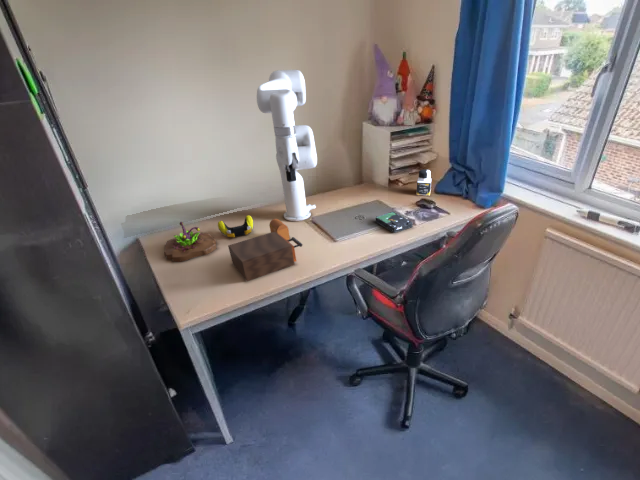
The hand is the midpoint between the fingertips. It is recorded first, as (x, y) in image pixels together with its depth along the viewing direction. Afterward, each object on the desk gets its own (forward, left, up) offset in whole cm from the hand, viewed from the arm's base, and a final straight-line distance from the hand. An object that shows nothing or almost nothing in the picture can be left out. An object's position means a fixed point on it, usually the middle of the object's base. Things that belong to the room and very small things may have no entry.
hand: (291, 180), depth 148 cm
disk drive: (-40, +14, -25) cm, 49 cm away
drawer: (+17, +11, -24) cm, 31 cm away
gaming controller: (+19, -22, -25) cm, 39 cm away
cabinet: (+21, +11, -25) cm, 35 cm away
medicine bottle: (-76, -5, -25) cm, 80 cm away
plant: (+40, -20, -25) cm, 51 cm away
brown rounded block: (+6, -6, -25) cm, 26 cm away
